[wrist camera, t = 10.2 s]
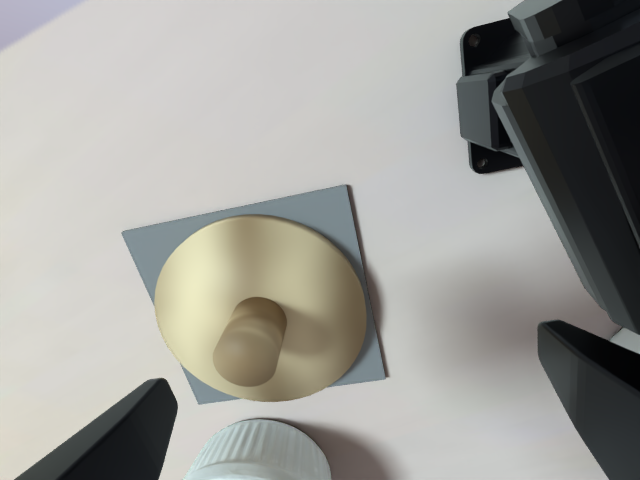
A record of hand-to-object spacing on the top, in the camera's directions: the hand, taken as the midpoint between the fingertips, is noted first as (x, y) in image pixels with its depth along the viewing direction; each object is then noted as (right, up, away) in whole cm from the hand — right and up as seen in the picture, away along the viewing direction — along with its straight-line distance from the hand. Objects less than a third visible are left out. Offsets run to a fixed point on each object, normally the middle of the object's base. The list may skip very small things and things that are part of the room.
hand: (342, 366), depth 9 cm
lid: (-4, -1, +13) cm, 14 cm away
